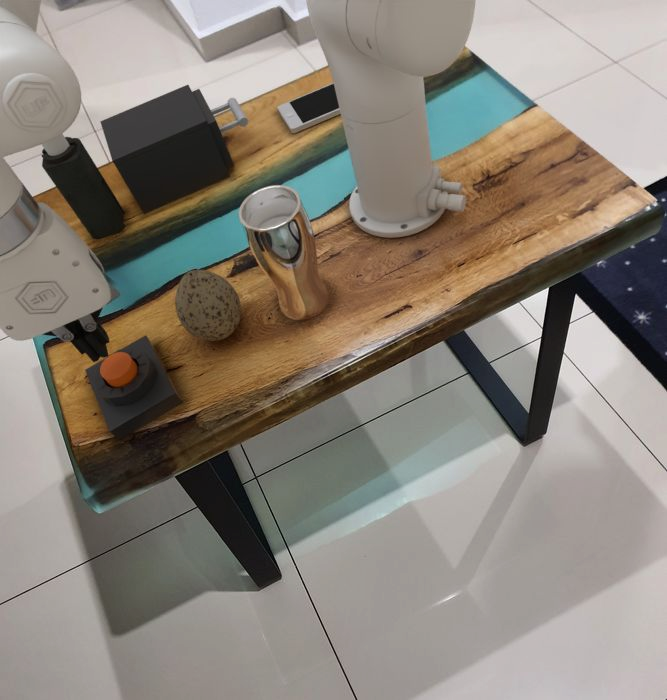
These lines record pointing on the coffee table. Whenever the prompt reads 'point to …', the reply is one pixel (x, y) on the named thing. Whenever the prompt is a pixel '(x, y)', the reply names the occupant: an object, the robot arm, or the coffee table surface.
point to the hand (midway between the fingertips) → (99, 349)
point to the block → (135, 391)
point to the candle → (82, 186)
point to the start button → (119, 369)
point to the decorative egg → (207, 305)
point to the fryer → (164, 149)
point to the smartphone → (310, 108)
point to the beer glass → (285, 249)
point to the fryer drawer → (217, 130)
